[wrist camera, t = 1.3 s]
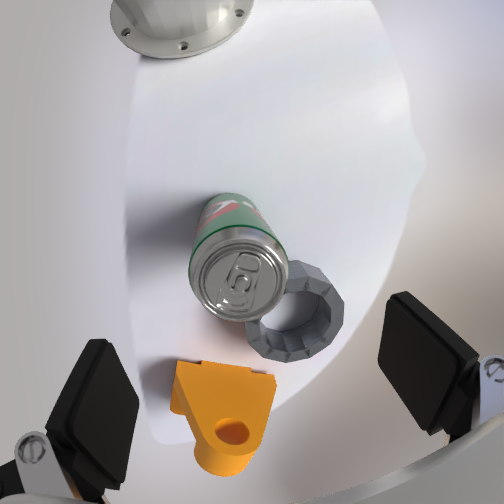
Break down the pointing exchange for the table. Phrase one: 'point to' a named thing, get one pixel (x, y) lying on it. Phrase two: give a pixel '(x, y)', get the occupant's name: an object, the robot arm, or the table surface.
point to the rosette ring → (311, 333)
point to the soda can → (236, 260)
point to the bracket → (223, 412)
